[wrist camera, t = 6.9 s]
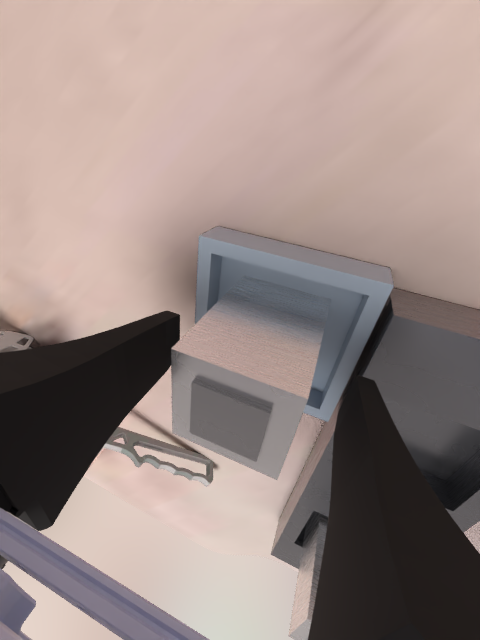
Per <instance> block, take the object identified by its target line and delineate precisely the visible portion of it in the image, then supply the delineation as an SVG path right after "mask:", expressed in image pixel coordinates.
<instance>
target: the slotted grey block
mask: <svg viewBox="0 0 480 640" xmlns="http://www.w3.org/2000/svg"><path fill="white" fill-rule="evenodd" d="M327 524H328V517H327V516H324V515H322V514H320V513H318V512H316V511H313V513H312V514H311V516H310V518H309V519H308V521H307V523H306V528H305V535H304V541H303V547H302V554H301V560H300V566H299V572H298V579H297V586H296V592H295V598H294V604H293V610H292V617H291V623H290V629H289V637H291V638H293V639H294V640H308V636H309V631H310V626H311V620H312V615H313V609H314V604H315V598H316V592H317V587H318V581H319V575H320V569H321V563H322V557H323V550H324V544H325V538H326V531H327Z"/></svg>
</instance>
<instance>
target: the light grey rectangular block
mask: <svg viewBox="0 0 480 640" xmlns="http://www.w3.org/2000/svg"><path fill="white" fill-rule="evenodd" d="M330 303H331V299H328V298H324V297H320V296H317V295H313V294H310V293H306V292H302V291H299V290H295V289H291V288H288V287H284V286H281V285H277V284H273V283H270V282H266V281H263V280H259V279H255V278H252V277H248V276H243V277H242V278H241V279H240V280H239V281H238V282H237V283H236V284H235V285H234V286H233V287H232V288H231V289H230V290H229V291H228V292H227V293H226V294H225V295H224V296H223V297H222V298H221V299H220V300H219V301H218V302H217V303H216V304H215V305H214V306H213V307H212V308H211V309H210V310H209V311H208V312H207V313H206V314H205V315H204V316H203V317H202V318H201V319H200V320H199V321H198V322H197V323H196V324H195V325H194V326H193V327H192V328H191V329H190V330H189V331H188V332H187V333H186V334H185V335H184V336H183V337H182V338H181V339H180V340H179V341H178V342H177V343H176V344H175V345H174V346H173V347H172V348H171V372H172V432H173V433H174V434H176V435H178V436H180V437H183V438H185V439H187V440H189V441H191V442H194V443H196V444H198V445H200V446H203V447H205V448H207V449H209V450H211V451H214V452H216V453H218V454H220V455H223V456H225V457H227V458H229V459H231V460H234V461H236V462H238V463H240V464H242V465H245V466H247V467H249V468H251V469H254V470H256V471H258V472H260V473H262V474H265V475H267V476H269V477H271V478H274V479H276V480H277V479H278V477H279V474H280V472H281V469H282V466H283V464H284V461H285V458H286V456H287V453H288V451H289V448H290V445H291V443H292V440H293V438H294V435H295V432H296V430H297V427H298V424H299V422H300V419H301V417H302V414H303V411H304V409H305V406H306V403H307V401H308V398H309V393H310V389H311V385H312V380H313V376H314V372H315V367H316V363H317V359H318V354H319V350H320V346H321V341H322V337H323V333H324V328H325V324H326V320H327V315H328V311H329V307H330Z"/></svg>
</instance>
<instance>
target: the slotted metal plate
mask: <svg viewBox="0 0 480 640" xmlns="http://www.w3.org/2000/svg"><path fill="white" fill-rule="evenodd" d="M356 375H360V376H363V377H366V378H369V379H372V380H374V381H375V382H376V384H377V387H378V389H379V391H380V393H381V396H382V398H383V400H384V402H385V405H386V407H387V409H388V411H389V413H390V415H391V417H392V420H393V422H394V424H395V426H396V428H397V430H398V431H399V433H400V435H401V437H402V439H403V441H404V443H405V445H406V447H407V449H408V450H409V452H410V454H411V456H412V457H413V459H414V461H415V463H416V464H417V466H418V468H419V469H420V471H421V473H422V474H423V476H424V477H425V479H426V480H427V482H428V483H429V485H430V486H431V488H432V489H433V491H434V492H435V494H436V495H437V497H438V498H439V500H440V501H441V503H442V504H443V506H444V507H445V509H446V510H447V511H448V513H449V514H450V516H451V517H452V518H453V520H454V521H455V522H456V524H457V525H458V526H459V528H460V529H461V530H462V532H465V531H466V530H468V529H469V528H470V527H472V526H473V525H474V524H476V523H477V522H479V521H480V310H478V309H474V308H470V307H466V306H462V305H458V304H454V303H450V302H446V301H443V300H439V299H435V298H431V297H427V296H423V295H419V294H415V293H412V292H408V291H404V290H400V289H396V288H393V289H392V291H391V293H390V295H389V297H388V299H387V301H386V303H385V305H384V307H383V309H382V311H381V313H380V316H379V318H378V320H377V322H376V324H375V326H374V328H373V330H372V332H371V334H370V336H369V338H368V340H367V343H366V345H365V347H364V349H363V351H362V353H361V355H360V357H359V359H358V361H357V363H356V365H355V368H354V370H353V372H352V374H351V376H350V378H349V380H348V382H347V384H346V386H345V388H344V390H343V392H342V395H341V397H340V399H339V401H338V403H337V405H336V407H335V409H334V411H333V413H332V415H331V417H330V419H329V422H327V421H325V423H324V426H323V428H322V430H321V432H320V434H319V436H318V438H317V440H316V443H315V445H314V447H313V449H312V451H311V453H310V455H309V457H308V459H307V462H306V464H305V466H304V468H303V470H302V472H301V474H300V476H299V479H298V481H297V483H296V485H295V487H294V489H293V491H292V493H291V496H290V498H289V500H288V502H287V504H286V506H285V508H284V510H283V513H282V515H281V517H280V519H279V522H278V526H277V530H276V535H275V539H274V543H273V547H272V552H271V555H273V556H275V557H277V558H279V559H281V560H282V561H284V562H286V563H288V564H290V565H292V566H294V567H296V568H298V569H299V566H300V560H301V554H302V547H303V541H304V535H305V528H306V523H307V521H308V519H309V518H310V516H311V514H312V513H313V511H316V512H318V513H320V514H322V515H324V516H327V517H329V509H330V497H331V477H332V456H333V439H334V432H335V426H336V421H337V415H338V411H339V409H340V407H341V405H342V403H343V401H344V399H345V397H346V395H347V393H348V391H349V389H350V387H351V385H352V383H353V381H354V379H355V377H356Z"/></svg>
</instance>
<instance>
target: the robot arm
mask: <svg viewBox="0 0 480 640" xmlns="http://www.w3.org/2000/svg"><path fill="white" fill-rule="evenodd" d="M179 340H180V315H179V314H176V313H173V312H170V311H164V312H161V313H158V314H155V315H152V316H149V317H146V318H143V319H141V320H138V321H135V322H132V323H129V324H126V325H123V326H121V327H118V328H114V329H111V330H108V331H105V332H102V333H98V334H95V335H92V336H88V337H85V338H81V339H77V340H72V341H68V342H64V343H59V344H54V345H48V346H43V347H37V348H31V349H25V350H18V351H10V352H2V353H0V555H1V556H3V557H4V558H5V559H7V560H8V561H10V562H11V563H13V564H14V565H16V566H17V567H19V568H20V569H21V570H23V571H24V572H26V573H27V574H29V575H30V576H32V577H33V578H35V579H36V580H38V581H39V582H41V583H42V584H43V585H45V586H46V587H48V588H49V589H51V590H52V591H54V592H55V593H56V594H58V595H59V596H61V597H62V598H64V599H65V600H67V601H68V602H70V603H71V604H72V605H74V606H75V607H77V608H78V609H80V610H81V611H83V612H84V613H86V614H87V615H89V616H90V617H92V618H93V619H95V620H96V621H97V622H99V623H100V624H102V625H103V626H105V627H106V628H108V629H109V630H110V631H112V632H113V633H115V634H116V635H118V636H119V637H121V638H122V639H124V640H209V639H207V638H206V637H204V636H203V635H201V634H200V633H198V632H196V631H195V630H193V629H192V628H190V627H188V626H186V625H185V624H184V623H182V622H180V621H179V620H177V619H176V618H174V617H173V616H171V615H169V614H168V613H166V612H165V611H163V610H161V609H160V608H158V607H157V606H155V605H154V604H152V603H150V602H149V601H147V600H145V599H144V598H143V597H141V596H139V595H138V594H136V593H135V592H133V591H131V590H130V589H128V588H126V587H125V586H124V585H122V584H120V583H119V582H117V581H116V580H114V579H112V578H111V577H109V576H108V575H106V574H104V573H103V572H101V571H100V570H98V569H97V568H95V567H93V566H92V565H90V564H89V563H87V562H85V561H84V560H82V559H81V558H79V557H77V556H76V555H74V554H73V553H71V552H70V551H68V550H66V549H65V548H63V547H62V546H60V545H59V544H57V543H55V542H54V541H52V540H51V539H49V538H47V537H46V536H44V535H42V534H41V533H40V532H38V531H41V530H44V529H47V528H49V527H50V526H52V525H53V524H54V522H55V520H56V519H57V517H58V515H59V513H60V512H61V510H62V509H63V507H64V505H65V504H66V502H67V501H68V499H69V497H70V496H71V494H72V492H73V491H74V489H75V488H76V486H77V484H78V483H79V482H80V480H81V479H82V477H83V476H84V474H85V473H86V471H87V470H88V468H89V467H90V465H91V464H92V462H93V461H94V459H95V458H96V456H97V455H98V453H99V452H100V451H101V449H102V448H103V446H104V445H105V444H106V442H107V441H108V439H109V438H110V437H111V435H112V434H113V433H114V431H115V430H116V429H117V427H118V426H119V425H120V423H121V422H122V421H123V419H124V418H125V417H126V416H127V414H128V413H129V412H130V411H131V410H132V409H133V408H134V406H135V405H136V404H137V403H138V402H139V401H140V400H141V399H142V398H143V397H144V396H145V394H146V393H147V392H148V391H149V390H150V389H151V388H152V387H153V386H154V385H155V384H156V382H157V381H158V380H159V379H160V378H161V377H162V376H163V375H164V374H165V372H166V371H167V370H168V369H169V367H170V366H171V348H172V347H173V346H174V345H175V344H176V343H177V342H178V341H179ZM8 512H9V513H10V514H9V513H8ZM11 514H12V515H11ZM13 515H14V516H15V517H14V516H13ZM16 517H17V518H19V519H20V520H19V519H17V518H16ZM21 520H22V521H23V522H22V521H21ZM24 522H25V523H26V524H25V523H24ZM27 524H28V525H30V526H31V527H30V526H28V525H27ZM32 527H33V528H34V529H33V528H32ZM35 529H36V530H38V531H36V530H35ZM35 605H36V601H35V600H34V599H33V598H32V597H30V596H29V595H28V594H27V593H26V592H25V591H24V590H23V589H22V588H20V587H19V586H18V585H17V584H16V583H15V582H14V580H13V579H12V578H11V577H10V576H9V575H8V574H7V573H5V572H4V571H3V570H2V569H0V640H32V639H31V638H29V637H28V636H26V635H25V634H24V633H22V632H21V631H20V629H21V626H22V624H23V623H24V621H25V620H26V618H27V617H28V616H29V614H30V613H31V612H32V610H33V609H34V607H35ZM308 640H480V554H479V552H478V551H477V550H476V549H475V547H474V546H473V545H472V544H471V542H470V541H469V540H468V538H467V537H466V536H465V534H464V533H463V532H462V530H461V529H460V528H459V526H458V525H457V524H456V522H455V521H454V520H453V518H452V517H451V516H450V514H449V513H448V511H447V510H446V509H445V507H444V506H443V504H442V503H441V501H440V500H439V498H438V497H437V495H436V494H435V492H434V491H433V489H432V488H431V486H430V485H429V483H428V482H427V480H426V479H425V477H424V476H423V474H422V473H421V471H420V469H419V468H418V466H417V464H416V463H415V461H414V459H413V457H412V456H411V454H410V452H409V450H408V449H407V447H406V445H405V443H404V441H403V439H402V437H401V435H400V433H399V431H398V430H397V428H396V426H395V424H394V422H393V420H392V417H391V415H390V413H389V411H388V409H387V407H386V405H385V402H384V400H383V398H382V396H381V393H380V391H379V389H378V387H377V384H376V382H375V381H374V380H372V379H369V378H366V377H363V376H360V375H356V377H355V379H354V381H353V383H352V385H351V387H350V389H349V391H348V393H347V395H346V397H345V399H344V401H343V403H342V405H341V407H340V409H339V411H338V415H337V421H336V426H335V432H334V439H333V456H332V477H331V497H330V509H329V517H328V524H327V531H326V538H325V544H324V550H323V557H322V563H321V569H320V575H319V581H318V587H317V592H316V598H315V604H314V609H313V615H312V620H311V626H310V631H309V636H308Z"/></svg>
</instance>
